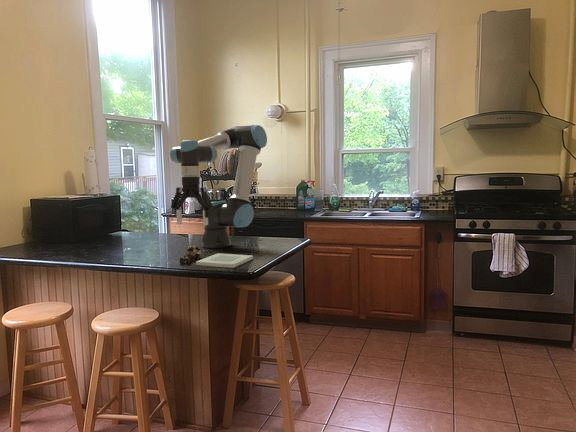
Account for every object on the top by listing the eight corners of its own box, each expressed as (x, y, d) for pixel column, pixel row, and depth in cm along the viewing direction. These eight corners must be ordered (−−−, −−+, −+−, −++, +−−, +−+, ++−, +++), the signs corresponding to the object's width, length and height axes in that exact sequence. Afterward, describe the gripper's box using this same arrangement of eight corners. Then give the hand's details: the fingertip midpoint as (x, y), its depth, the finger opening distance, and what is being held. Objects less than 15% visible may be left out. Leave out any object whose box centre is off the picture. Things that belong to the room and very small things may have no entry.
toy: (178, 251, 194) (193, 242, 208) (176, 265, 196) (191, 255, 210) (191, 255, 193) (206, 245, 207) (189, 269, 195) (204, 258, 209)
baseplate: (217, 256, 209) (217, 253, 209) (253, 258, 202) (252, 255, 202) (196, 265, 192) (195, 261, 192) (233, 267, 186) (233, 264, 186)
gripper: (161, 176, 199) (163, 224, 201) (210, 176, 189) (212, 226, 192) (171, 176, 206) (174, 222, 208) (219, 175, 196) (221, 224, 199)
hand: (192, 224), depth 200 cm, fingers open, 13 cm apart
